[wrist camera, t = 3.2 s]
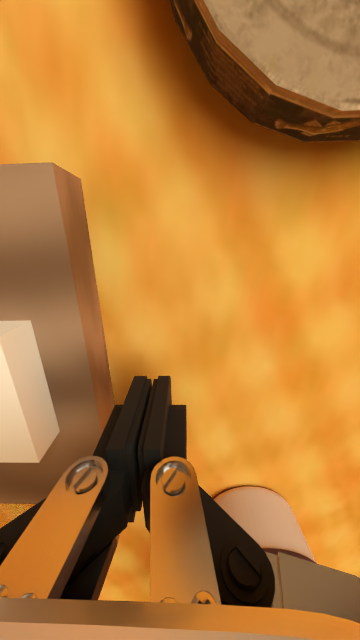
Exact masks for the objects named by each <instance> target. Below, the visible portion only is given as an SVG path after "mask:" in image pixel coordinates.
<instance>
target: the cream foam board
mask: <svg viewBox="0 0 360 640" xmlns="http://www.w3.org/2000/svg"><path fill="white" fill-rule="evenodd" d="M59 432H60V430H59V426H58V423H57V419H56V415H55V411H54V407H53V404H52V400H51V396H50V392H49V388H48V385H47V381H46V377H45V373H44V369H43V366H42V362H41V358H40V354H39V350H38V347H37V343H36V339H35V335H34V331H33V328H32V324H31V320H28V321H0V463H39V462H40V460H41V459H42V457H43V456H44V454H45V453H46V451H47V450H48V448H49V447H50V445H51V444H52V442H53V441H54V439H55V438H56V436H57V435H58V433H59Z"/></svg>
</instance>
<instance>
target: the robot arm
mask: <svg viewBox="0 0 360 640" xmlns="http://www.w3.org/2000/svg"><path fill="white" fill-rule="evenodd" d="M186 441H187V434H186V405H172V400H171V378H170V376H159V377H158V379H154V381H153V385H152V382H151V379H147V376H135V377H134V379H133V381H132V384H131V387H130V389H129V392H128V394H127V397H126V399H125V402H124V404H123V405H115V406H114V408H113V410H112V413H111V415H110V417H109V419H108V422H107V424H106V426H105V428H104V431H103V433H102V435H101V437H100V440H99V442H98V444H97V446H96V449H95V451H94V453H93V455H92V456H88V457H84V458H82V459H80V460H78V461H76V462H75V463H73V464H72V465H71V466H69V468H68V469H67V470H66V471H65V472H64V474H63V475H62V477H61V478H60V480H59V481H58V482H57V484H56V485H55V487H54V488H53V490H52V491H51V493H50V494H49V496H48V497H46V498H45V499H43V500H42V501H40V502H39V503H38V504H36V505H35V506H33V507H32V508H30V509H29V510H27V511H26V512H24V513H23V514H21V515H20V516H18V517H17V518H15V519H14V520H12V521H11V522H9V523H8V524H6V525H5V526H3V527H2V528H0V640H360V578H359V577H357V576H355V575H351V574H348V573H345V572H342V571H339V570H335V569H332V568H329V567H326V566H323V565H319V564H316V563H313V562H310V561H307V560H303V559H300V558H297V557H294V556H291V555H287V554H284V553H281V552H278V555H275V554H271V553H268V552H265V551H264V550H263V549H262V548H261V547H260V545H259V544H258V543H257V542H256V541H255V540H254V539H253V538H252V537H251V536H250V535H249V534H248V533H247V532H246V531H245V530H244V529H243V528H242V527H241V526H240V525H239V524H238V523H237V522H236V521H235V520H234V519H233V518H232V517H230V516H229V515H228V514H227V513H226V512H225V511H224V510H223V509H222V508H221V507H220V506H219V505H218V504H217V503H216V502H215V501H214V500H213V499H212V498H211V497H210V496H209V495H208V494H207V493H206V492H205V491H204V490H203V489H202V488H201V487H200V486H199V485H198V481H197V476H196V472H195V470H194V467H193V466H192V465H191V463H190V462H188V461H187V460H186ZM142 501H143V508H144V516H145V525H146V528H147V530H148V531H149V533H150V602H133V601H102V600H98V598H99V595H100V592H101V590H102V587H103V584H104V581H105V578H106V575H107V572H108V569H109V567H110V564H111V561H112V558H113V555H114V552H115V549H116V547H117V544H118V539H119V534H120V533H121V532H122V531H123V530H124V529H125V528H126V527H127V524H128V522H134V517H135V512H136V511H140V510H141V507H142Z"/></svg>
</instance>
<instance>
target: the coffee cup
mask: <svg viewBox="0 0 360 640" xmlns="http://www.w3.org/2000/svg"><path fill="white" fill-rule="evenodd" d="M213 500H214V501H215V502H216V503H217V504H218V505H219V506H220V507H221V508H222V509H223V510H224V511H225V512H226V513H227V514H228V515H229V516H230V517H232V518H233V519H234V520H235V521H236V522H237V523H238V524H239V525H240V526H241V527H242V528H243V529H244V530H245V531H246V532H247V533H248V534H249V535H250V536H251V537H252V538H253V539H254V540H255V541H256V542H257V543H258V544H259V545H260V547H261V548H262V549H263V550H264V551H265V552H268V553H271V554H275V555H278V552H281V553H284V554H287V555H291V556H294V557H297V558H300V559H303V560H307V561H310V562H313V563H316V561H315V559H314V557H313V555H312V553H311V550H310V548H309V546H308V544H307V542H306V539H305V537H304V535H303V533H302V531H301V529H300V526H299V524H298V522H297V520H296V518H295V515H294V513H293V511H292V509H291V507H290V506H289V504H288V503H287V501H286V500H285V499H284V498H283V497H282V496H280V495H279V494H277V493H276V492H274V491H271V490H269V489H266V488H261V487H254V486H244V487H238V488H233V489H230V490H227V491H225V492H223V493H221V494H220V495H218V496H217V497H216V498H214V499H213ZM316 564H317V563H316Z"/></svg>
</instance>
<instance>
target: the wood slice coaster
mask: <svg viewBox="0 0 360 640" xmlns="http://www.w3.org/2000/svg"><path fill="white" fill-rule="evenodd" d="M170 1H171V5H172V9H173V13H174V17H175V21H176V23H177V25H178V27H179V28H180V30H181V32H182V34H183V36H184V38H185V39H186V41H187V43H188V45H189V47H190V48H191V50H192V52H193V54H194V56H195V57H196V59H197V61H198V63H199V65H200V66H201V68H202V70H203V72H204V74H205V75H206V77H207V79H208V81H209V83H210V84H211V85H212V86H213V87H214V88H215V89H216V90H217V91H218V92H220V93H221V94H222V95H223V96H224V97H225V98H226V99H227V100H228V101H229V102H230V103H232V104H233V105H234V106H235V107H236V108H237V109H238V110H239V111H240V112H241V113H242V114H244V115H245V116H246V117H247V118H248V119H249V120H250V121H251V122H252V123H253V124H256V125H258V126H261V127H264V128H266V129H269V130H272V131H274V132H277V133H280V134H282V135H285V136H288V137H290V138H293V139H296V140H298V141H301V142H337V141H359V140H360V0H170Z"/></svg>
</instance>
